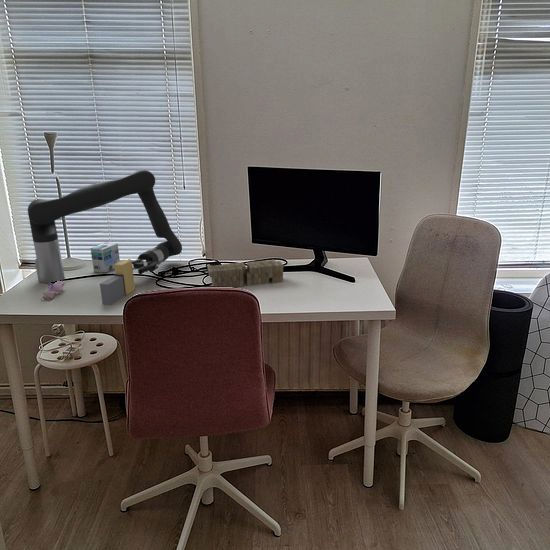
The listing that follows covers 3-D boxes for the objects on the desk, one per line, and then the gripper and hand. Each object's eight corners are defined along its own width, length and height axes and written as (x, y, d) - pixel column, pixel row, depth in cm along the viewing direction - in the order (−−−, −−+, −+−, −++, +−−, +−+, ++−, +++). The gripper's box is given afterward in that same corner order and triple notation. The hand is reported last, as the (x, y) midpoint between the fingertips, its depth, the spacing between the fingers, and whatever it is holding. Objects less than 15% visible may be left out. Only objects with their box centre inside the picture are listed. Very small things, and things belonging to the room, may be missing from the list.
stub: (127, 288, 193) (123, 259, 189) (134, 289, 192) (131, 260, 188) (118, 294, 187) (114, 264, 184) (126, 295, 186) (122, 264, 183)
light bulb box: (105, 273, 212) (102, 249, 208) (93, 272, 214) (89, 248, 211) (121, 266, 221) (118, 242, 218) (108, 264, 224) (105, 241, 220)
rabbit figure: (54, 305, 183) (72, 285, 196) (50, 291, 180) (68, 272, 193) (38, 305, 183) (57, 285, 196) (33, 291, 180) (53, 271, 194)
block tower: (278, 278, 205) (207, 283, 198) (278, 259, 202) (207, 263, 195) (283, 284, 198) (210, 290, 191) (283, 264, 195) (209, 269, 188)
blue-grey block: (117, 295, 187) (114, 274, 185) (126, 295, 186) (123, 274, 184) (102, 304, 179) (99, 282, 176) (111, 305, 178) (108, 283, 175)
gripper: (135, 249, 206) (112, 260, 191) (165, 251, 202) (144, 263, 187) (136, 266, 208) (114, 278, 194) (167, 268, 204) (146, 281, 190)
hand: (129, 271), depth 190 cm, fingers open, 8 cm apart
